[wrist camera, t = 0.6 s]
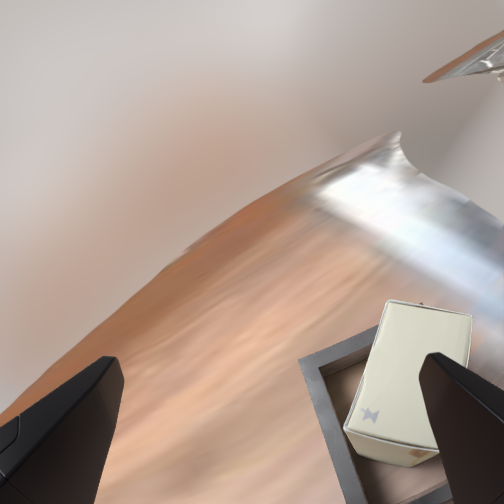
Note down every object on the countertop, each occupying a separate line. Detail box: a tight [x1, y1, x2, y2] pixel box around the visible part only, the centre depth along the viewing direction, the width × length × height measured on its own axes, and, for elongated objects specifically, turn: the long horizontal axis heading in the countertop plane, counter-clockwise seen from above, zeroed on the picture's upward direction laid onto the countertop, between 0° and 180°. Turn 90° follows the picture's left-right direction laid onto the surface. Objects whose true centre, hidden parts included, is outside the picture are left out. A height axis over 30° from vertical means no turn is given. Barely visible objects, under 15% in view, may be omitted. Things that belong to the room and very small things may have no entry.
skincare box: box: [343, 299, 473, 468], centre depth 15 cm, size 6×4×12 cm
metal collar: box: [298, 303, 452, 504], centre depth 18 cm, size 14×10×2 cm
